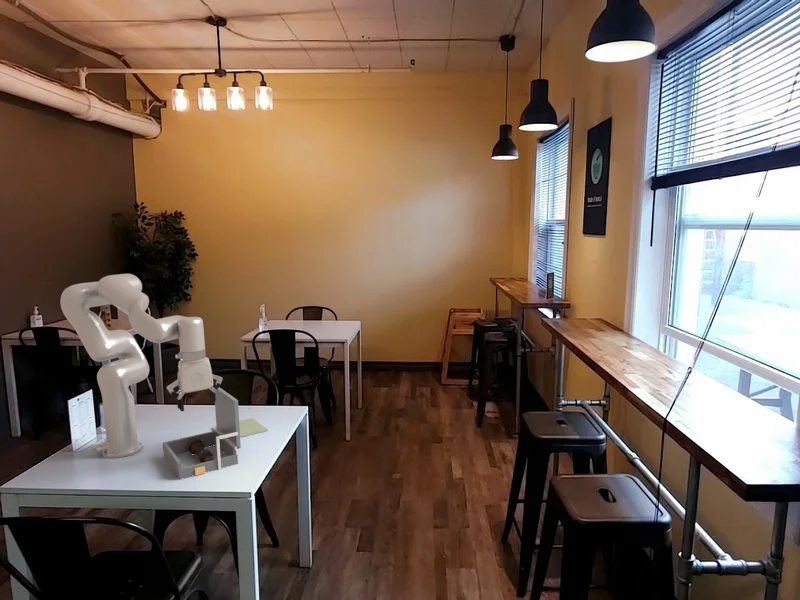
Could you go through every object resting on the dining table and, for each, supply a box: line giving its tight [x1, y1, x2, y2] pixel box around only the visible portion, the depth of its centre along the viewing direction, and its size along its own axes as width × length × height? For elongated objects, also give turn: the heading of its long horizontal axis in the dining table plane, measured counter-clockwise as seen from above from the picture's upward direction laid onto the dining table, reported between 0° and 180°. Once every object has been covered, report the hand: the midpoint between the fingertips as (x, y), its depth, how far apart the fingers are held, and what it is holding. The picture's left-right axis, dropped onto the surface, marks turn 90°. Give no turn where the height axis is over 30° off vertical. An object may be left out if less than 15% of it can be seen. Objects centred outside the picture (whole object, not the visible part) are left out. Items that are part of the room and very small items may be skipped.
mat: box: [211, 417, 269, 438], centre depth 203 cm, size 16×16×1 cm
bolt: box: [186, 438, 215, 463], centre depth 176 cm, size 6×5×15 cm
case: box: [162, 386, 242, 480], centre depth 175 cm, size 19×22×21 cm
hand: (197, 407), depth 173 cm, fingers open, 9 cm apart
